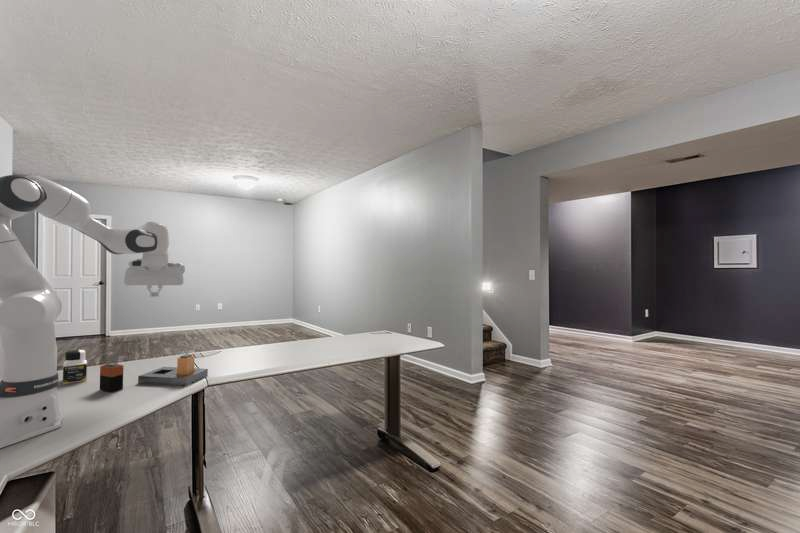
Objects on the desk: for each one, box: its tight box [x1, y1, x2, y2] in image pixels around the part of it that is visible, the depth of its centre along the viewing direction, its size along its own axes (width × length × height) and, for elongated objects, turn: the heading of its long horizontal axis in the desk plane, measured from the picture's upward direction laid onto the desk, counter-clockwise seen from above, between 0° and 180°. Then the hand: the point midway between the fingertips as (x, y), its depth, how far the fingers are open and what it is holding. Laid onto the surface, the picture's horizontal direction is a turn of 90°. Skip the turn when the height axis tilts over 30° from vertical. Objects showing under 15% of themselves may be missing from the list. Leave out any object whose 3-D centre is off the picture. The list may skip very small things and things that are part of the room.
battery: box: [99, 361, 124, 393], centre depth 139 cm, size 4×7×10 cm, turn 70°
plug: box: [176, 353, 195, 375], centre depth 152 cm, size 5×4×10 cm
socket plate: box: [137, 366, 209, 386], centre depth 153 cm, size 14×20×3 cm
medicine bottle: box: [62, 349, 88, 385], centre depth 149 cm, size 7×7×12 cm
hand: (154, 296), depth 152 cm, fingers closed
